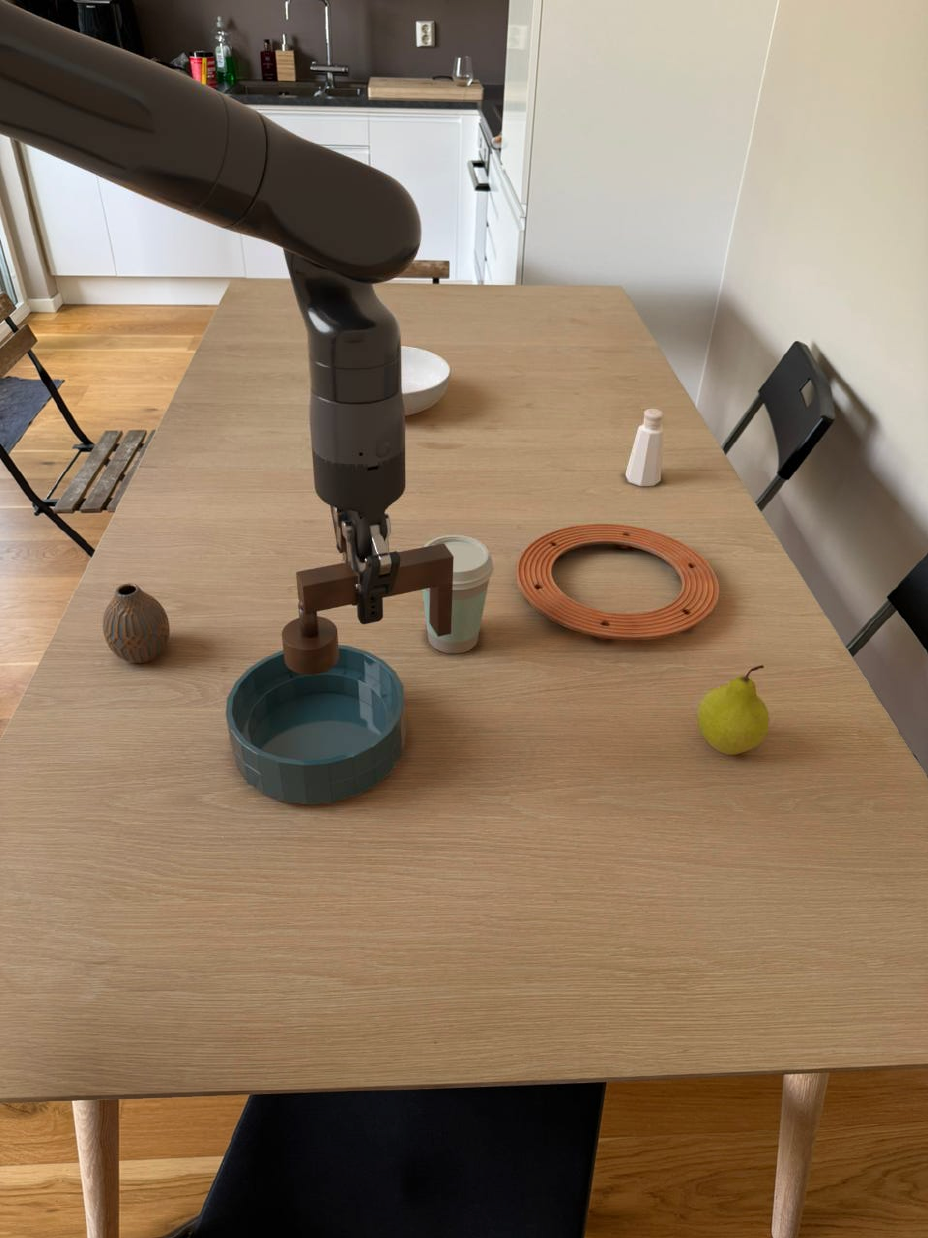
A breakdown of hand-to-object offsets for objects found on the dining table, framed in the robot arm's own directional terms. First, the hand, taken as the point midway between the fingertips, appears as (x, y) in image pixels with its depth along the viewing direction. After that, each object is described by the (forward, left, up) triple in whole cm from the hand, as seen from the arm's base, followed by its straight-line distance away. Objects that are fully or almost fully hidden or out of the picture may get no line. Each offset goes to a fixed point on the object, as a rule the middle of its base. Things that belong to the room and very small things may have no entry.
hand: (365, 610), depth 82 cm
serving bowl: (+28, +76, -16) cm, 82 cm away
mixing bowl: (-5, +1, -16) cm, 17 cm away
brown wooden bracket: (0, 0, -4) cm, 4 cm away
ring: (+37, +14, -16) cm, 43 cm away
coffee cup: (+14, +12, -16) cm, 24 cm away
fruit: (+34, -14, -16) cm, 40 cm away
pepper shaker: (+56, +38, -16) cm, 69 cm away
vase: (-20, +22, -16) cm, 34 cm away
